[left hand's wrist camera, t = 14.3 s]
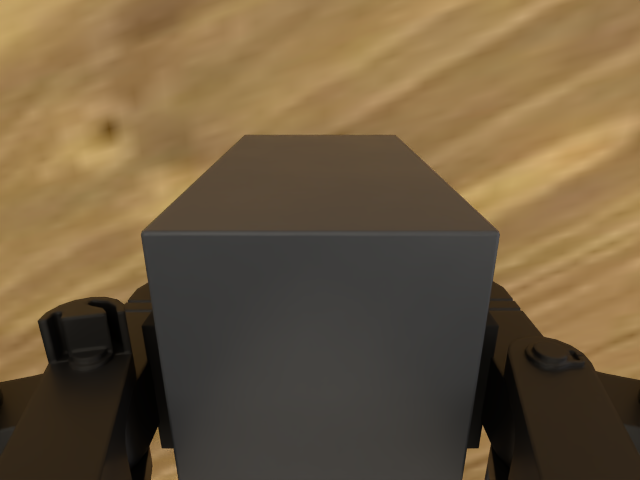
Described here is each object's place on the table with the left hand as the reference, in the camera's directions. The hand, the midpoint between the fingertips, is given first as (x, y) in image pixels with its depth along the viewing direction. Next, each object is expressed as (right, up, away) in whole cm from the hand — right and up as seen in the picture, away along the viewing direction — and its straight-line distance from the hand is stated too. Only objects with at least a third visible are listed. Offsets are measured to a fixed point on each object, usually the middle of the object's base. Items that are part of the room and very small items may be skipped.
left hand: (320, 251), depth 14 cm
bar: (0, -9, +4) cm, 10 cm away
